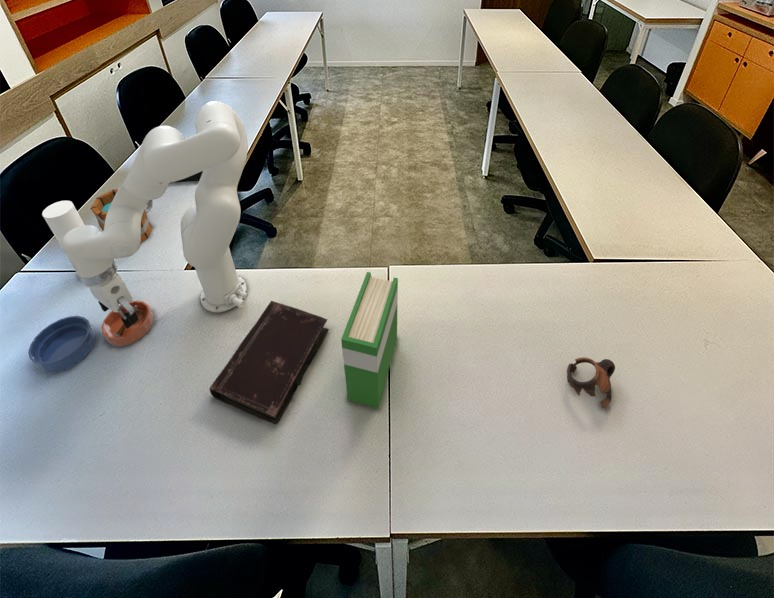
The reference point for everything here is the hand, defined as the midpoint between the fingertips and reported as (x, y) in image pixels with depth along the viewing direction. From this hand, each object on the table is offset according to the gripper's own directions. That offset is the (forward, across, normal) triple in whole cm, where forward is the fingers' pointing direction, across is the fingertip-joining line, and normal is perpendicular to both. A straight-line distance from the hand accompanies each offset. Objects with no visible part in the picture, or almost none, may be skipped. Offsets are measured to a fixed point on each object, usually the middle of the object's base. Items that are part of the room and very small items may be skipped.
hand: (120, 315), depth 111 cm
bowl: (+6, +8, +11) cm, 15 cm away
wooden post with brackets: (+5, 0, -1) cm, 5 cm away
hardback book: (+4, -63, -24) cm, 68 cm away
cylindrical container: (+6, +28, -7) cm, 29 cm away
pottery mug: (+3, -110, -46) cm, 119 cm away
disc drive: (+5, +46, -59) cm, 75 cm away
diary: (+4, -41, -13) cm, 43 cm away
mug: (+5, +33, -25) cm, 41 cm away
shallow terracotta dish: (+5, 0, -1) cm, 5 cm away
